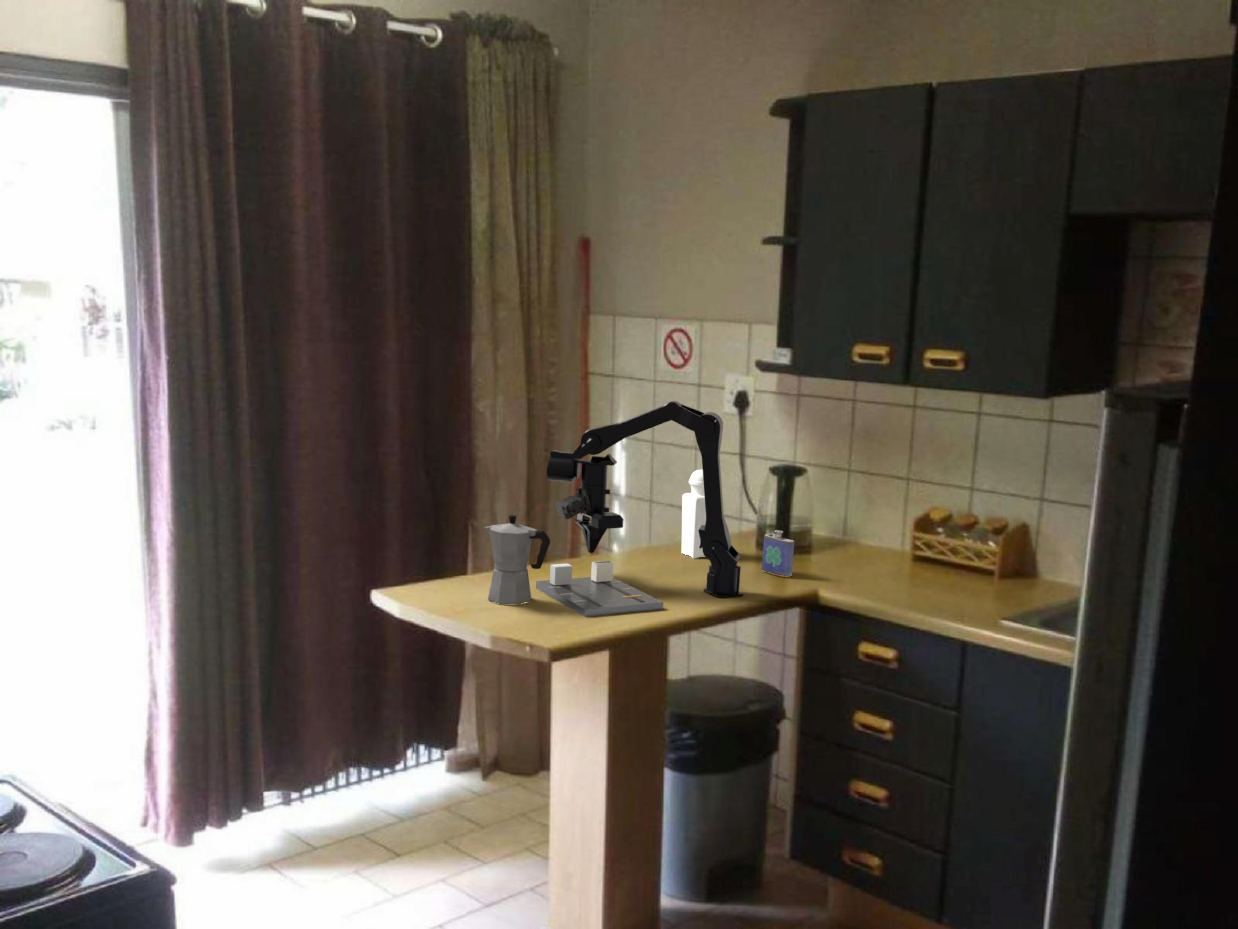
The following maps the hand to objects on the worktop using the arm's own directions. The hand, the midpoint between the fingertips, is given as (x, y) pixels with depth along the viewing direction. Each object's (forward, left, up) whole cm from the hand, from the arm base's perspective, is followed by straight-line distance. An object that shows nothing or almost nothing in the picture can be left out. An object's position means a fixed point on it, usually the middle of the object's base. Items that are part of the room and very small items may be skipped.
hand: (590, 552), depth 256 cm
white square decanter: (-38, -16, -7) cm, 42 cm away
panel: (+5, +14, -7) cm, 16 cm away
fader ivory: (0, +6, -5) cm, 8 cm away
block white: (+10, +6, -5) cm, 13 cm away
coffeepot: (+23, +10, -7) cm, 26 cm away
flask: (-46, +7, -7) cm, 47 cm away
